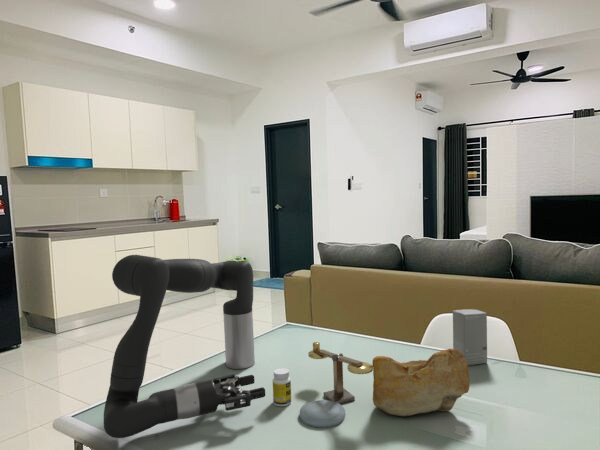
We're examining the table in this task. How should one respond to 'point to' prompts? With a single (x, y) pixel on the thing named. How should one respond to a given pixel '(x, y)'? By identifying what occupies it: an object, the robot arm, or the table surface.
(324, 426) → the dish
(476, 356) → the skincare box
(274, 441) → the table surface
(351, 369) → the balance
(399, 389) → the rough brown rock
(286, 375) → the supplement bottle
